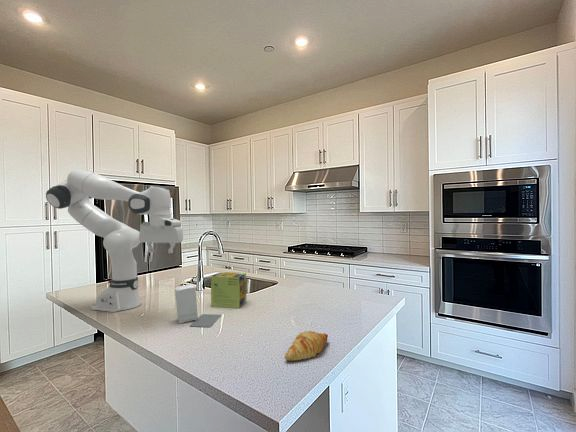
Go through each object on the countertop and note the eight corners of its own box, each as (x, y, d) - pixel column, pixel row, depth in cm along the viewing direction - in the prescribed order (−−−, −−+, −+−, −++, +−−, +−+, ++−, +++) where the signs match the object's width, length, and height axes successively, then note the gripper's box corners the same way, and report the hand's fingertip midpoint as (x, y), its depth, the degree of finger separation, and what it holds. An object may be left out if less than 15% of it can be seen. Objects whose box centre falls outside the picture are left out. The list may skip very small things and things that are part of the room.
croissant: (292, 377, 94) (300, 359, 91) (272, 353, 100) (279, 335, 97) (332, 351, 109) (340, 335, 106) (312, 332, 115) (320, 316, 112)
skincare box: (196, 315, 137) (194, 283, 136) (198, 320, 132) (196, 286, 131) (176, 319, 134) (174, 286, 133) (178, 324, 128) (175, 289, 127)
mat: (189, 326, 125) (189, 326, 125) (202, 314, 139) (202, 314, 139) (210, 327, 124) (210, 326, 124) (221, 315, 138) (221, 314, 138)
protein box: (239, 308, 148) (239, 277, 147) (210, 306, 151) (210, 275, 150) (246, 301, 158) (246, 272, 157) (219, 300, 161) (219, 271, 161)
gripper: (135, 222, 134) (136, 253, 134) (176, 222, 129) (177, 254, 130) (145, 221, 140) (145, 251, 140) (184, 221, 135) (185, 252, 136)
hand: (161, 252), depth 135 cm, fingers open, 8 cm apart
